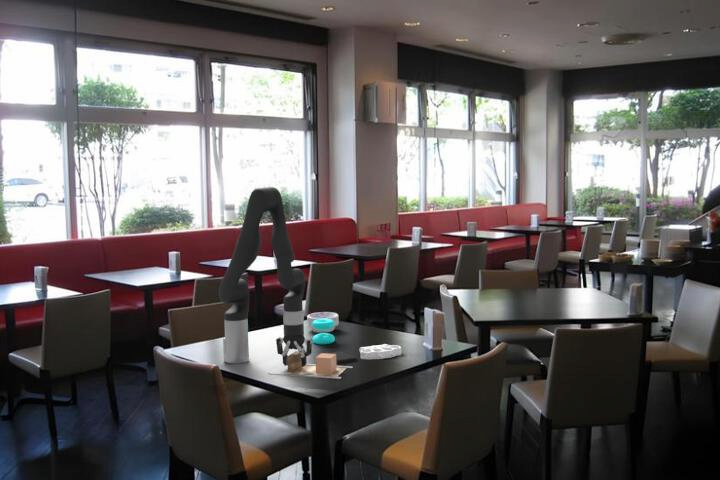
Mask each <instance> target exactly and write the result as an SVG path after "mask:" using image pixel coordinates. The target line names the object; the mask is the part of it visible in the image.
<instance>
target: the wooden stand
mask: <svg viewBox="0 0 720 480" xmlns="http://www.w3.org/2000/svg"><path fill="white" fill-rule="evenodd" d="M301 357H302V356H301V354H300V352H299V351H298V350H295V351H294V352H292V353H290V354H288V356H287V359H288V365H287V372H286V374H301V375H317V376H332V377H340V375H341V374H342V373H343V372H344V371H346V369H347V368H340V367H336V368H337V370H336V371H335V372H334V373H332V374H318V373H316V366H307V365H305V366H304V367H302V365H301Z"/></svg>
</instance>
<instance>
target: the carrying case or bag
mask: <svg viewBox="0 0 720 480" xmlns="http://www.w3.org/2000/svg"><path fill="white" fill-rule="evenodd" d="M325 354H336V365H346V364H352V363H356V362H358V361H359V359H358V358H357V357H356V356H354V355H351V354H349V353H346V352H343V351H340V350H339V351H333V352H326V353H325Z"/></svg>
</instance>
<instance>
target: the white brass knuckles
mask: <svg viewBox="0 0 720 480" xmlns="http://www.w3.org/2000/svg"><path fill="white" fill-rule="evenodd" d="M358 351H359V353H360V359H361V360H384V359H390V358H393V357H396V356H402V347H401V346H400V345H397V344H392V345H391V344H386V343H383V344H379V345H371V346H370V345H369V346H361V347H358Z"/></svg>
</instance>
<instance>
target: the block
mask: <svg viewBox="0 0 720 480" xmlns="http://www.w3.org/2000/svg"><path fill="white" fill-rule="evenodd" d="M315 364H316V373H318V374H332V373H334V372H335V371H336V370H337V368H338V367H336V366H337V364H336V354H326V353H325V352H324V353H322V352H321V353H320V354H318V355H317V356H315Z"/></svg>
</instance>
